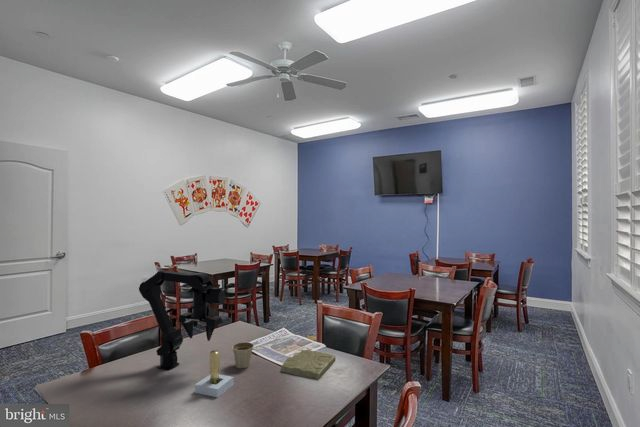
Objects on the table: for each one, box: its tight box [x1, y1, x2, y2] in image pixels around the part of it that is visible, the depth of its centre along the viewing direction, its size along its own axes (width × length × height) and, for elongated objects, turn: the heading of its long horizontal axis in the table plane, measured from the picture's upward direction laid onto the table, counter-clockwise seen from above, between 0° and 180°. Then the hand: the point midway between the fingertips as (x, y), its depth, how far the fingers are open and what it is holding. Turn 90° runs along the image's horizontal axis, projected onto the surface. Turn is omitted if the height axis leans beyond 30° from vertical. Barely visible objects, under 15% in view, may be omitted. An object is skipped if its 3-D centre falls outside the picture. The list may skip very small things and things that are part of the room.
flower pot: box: [231, 341, 255, 369], centre depth 150 cm, size 9×9×9 cm
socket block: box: [194, 373, 235, 398], centre depth 130 cm, size 10×10×3 cm
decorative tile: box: [280, 349, 336, 380], centre depth 151 cm, size 19×20×4 cm
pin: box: [209, 349, 220, 385], centre depth 130 cm, size 3×3×14 cm
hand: (199, 339), depth 146 cm, fingers open, 9 cm apart
